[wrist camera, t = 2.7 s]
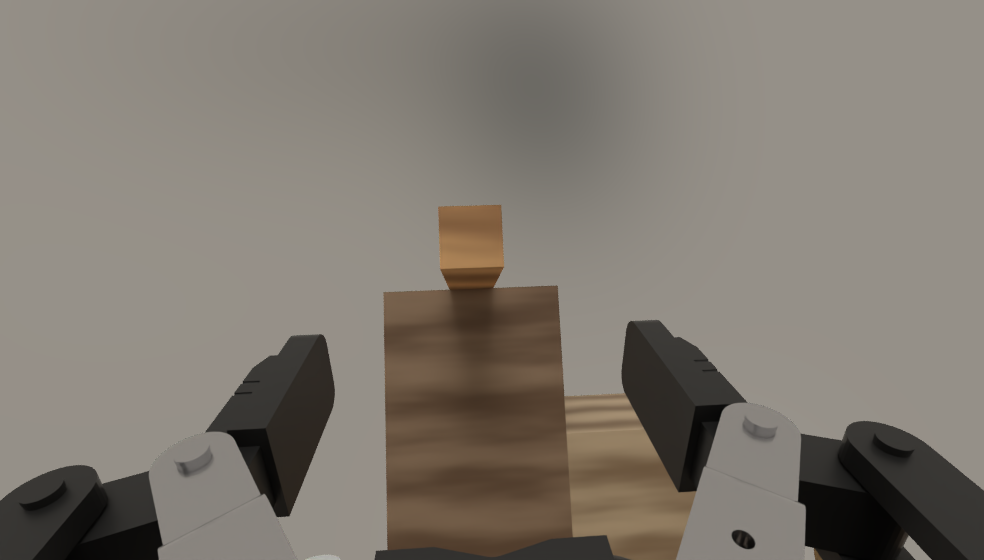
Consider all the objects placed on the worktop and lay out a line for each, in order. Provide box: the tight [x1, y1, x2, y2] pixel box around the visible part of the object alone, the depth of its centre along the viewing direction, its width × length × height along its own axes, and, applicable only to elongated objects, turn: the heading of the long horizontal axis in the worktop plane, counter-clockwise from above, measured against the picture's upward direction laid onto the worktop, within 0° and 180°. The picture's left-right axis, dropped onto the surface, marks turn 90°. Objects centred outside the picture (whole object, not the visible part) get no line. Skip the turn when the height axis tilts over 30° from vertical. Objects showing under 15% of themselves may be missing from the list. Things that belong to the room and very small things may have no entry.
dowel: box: [438, 205, 504, 290], centre depth 34 cm, size 26×3×3 cm, turn 3°
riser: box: [384, 286, 696, 560], centre depth 38 cm, size 17×24×32 cm
